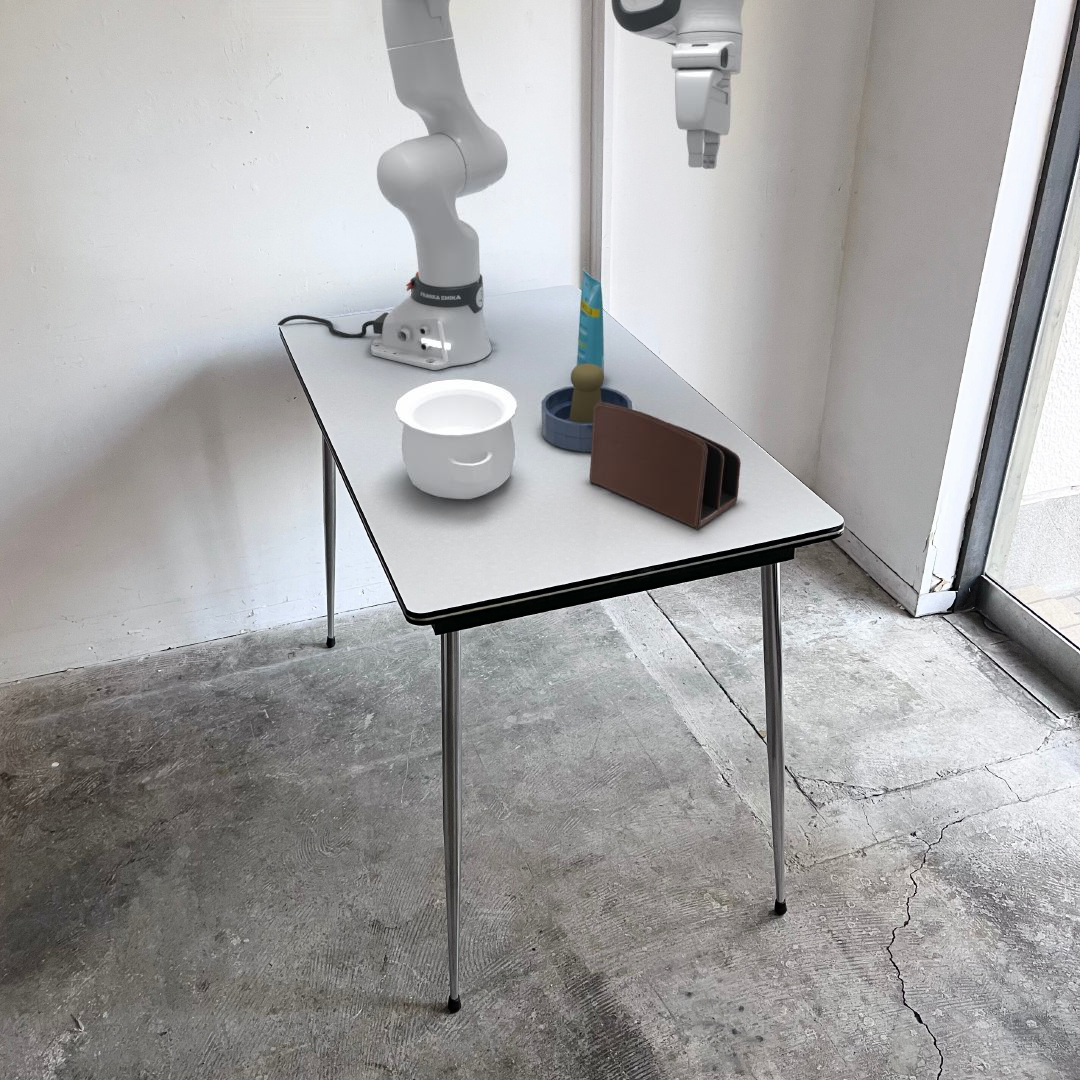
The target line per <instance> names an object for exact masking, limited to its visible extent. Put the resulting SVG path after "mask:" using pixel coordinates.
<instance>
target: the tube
mask: <svg viewBox="0 0 1080 1080" xmlns="http://www.w3.org/2000/svg"><path fill="white" fill-rule="evenodd" d="M582 271H583V274H582V284H581V293H580V305H579V320H578V321H579V323H578V336H577V337H578V338H577V355H576V356H577V357H576V359H577V360H576V366H578V365H580V364H594V365H597V366H599V367H600V368H601V369H602V371H603V373H604V374H605V348H604V346H605V345H604V343H605V341H604V340H605V339H604V304H603V303H604V302H603V290H602V282H601V281H600V280H598V279H597V278H596V277H595V278H594V277H593V276H592V275H590V274H589V273H588V272H587V271H586V270H585V269H584V268H582Z"/></svg>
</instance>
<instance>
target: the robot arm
mask: <svg viewBox="0 0 1080 1080" xmlns="http://www.w3.org/2000/svg"><path fill="white" fill-rule="evenodd" d="M450 2H451V0H381V14H382V15H381V16H382V25H383V34H384V41H385V45H386V49H387V50H386V51H387V55H388V60H389V66H390V70H391V75H392V81H393V87H394V89H395V95H396V98H397V99H398V101H399V102H400V103H401V104H402V105H403V106H404V107H405V108H407V109H408V110H411V111H414V112H416V114H417V115H418V116H419V117H420V118H421V120H422V122H423V124H424V125H425V127H426V130H427V133H428V135H424V136H420V137H416V138H411V139H407V140H404V141H402V142H400V143H398V144H396V145H394V146H392V147H391V148H389V149H387V150H385V151H384V152H383V153H382V154H381V155H380V157H379V159H378V162H377V165H376V181H377V185H378V188H379V190H380V193H381V194H382V196H383V197H384V199H385V200H386V201H387V203H389V204H390V205H391V206H393V207H394V208H396V209H397V210H398V211H400V212H401V213H402V214H403V216H404V217H405V219H406V220H407V222H408V224H409V226H410V228H411V231H412V234H413V237H414V243H415V249H416V250H415V251H416V260H417V270H418V271H416V273H415V275H414V276H413V277H412V278H410V280H409V282H408V283H407V284H406V285H405V286H406V291H407V292H409V291H410V295H409V296H408V297H407V298H405V299H404V300H402V301H401V302H400V303H399V304H397V305H395V307H394V308H393V309H392V310H391V311H389V312H383V313H382V314H381V315H379V316H378V317H377V318H375V319H373V320H368V321H366V322H364V323H363V324H362V325H361V332H359V333H347V332H343V331H340V330H337V329H336V328H335V327H334V324H333V323H332V321H331V320H329V319H325V318H320V317H317V316H313V315H305V314H294V315H288V316H287V317H284V318H283V319H281V320H279V322H278V323H277V326H283V325H285V324H286V323H288V322H290V321H293V320H295V321H296V320H305V321H307V320H308V321H311V322H312V321H314V322H317V323H321V324H325V325H327V326H328V330H329V331H330V332H331V334H333V335H336V336H339V337H343V338H347V339H360V338H362V337H365V336H366V334H367V327H369V326H372V329H373V330H372V331H373V334H377V337H376V338H375V339H374V340H373V341H372V343H371V345H370V354H371V356H374V357H377V358H382V359H386V360H391V361H395V362H398V363H403V364H408V365H411V366H415V367H419V368H423V369H428V370H432V371H439V370H443V369H446V368H449V367H454V366H462V365H468V364H472V363H475V362H478V361H481V360H483V359H485V358H487V357H488V356H489V355H490V354H491V352H492V345H491V342H490V340H489V336H488V331H487V328H486V323H485V322H486V321H485V316H484V309H483V308H484V301H485V290H484V280H483V275H482V274H481V265H480V263H481V262H480V260H481V259H480V237H479V235H478V233H477V231H476V230H475V228H474V227H473V226H471V224H469V223H467V222H466V221H464V220H462V219H460V218H459V216H458V212H457V207H456V200H457V199H459V198H463V197H466V196H471V195H473V194H477V193H481V192H483V191H486V189H488V188H490V187H491V186H493V185H494V184H496V183H497V182H500V180H501V179H502V178H503V177H504V176H505V174H506V171H507V168H508V161H509V160H508V151H507V147H506V144H505V143H504V140H503V138H502V137H501V136H500V134H499V133H498V132H497V131H496V130H494V129H493V128H491V127H490V126H489V125H487V124H486V123H485V122H484V121H483V120H482V119H481V118H480V116H479V115H478V113H477V111H476V110H475V108H474V106H473V104H472V103H471V100H470V99H469V96H468V94H467V92H466V89H465V86H464V82H463V78H462V74H461V68H460V64H459V59H458V54H457V48H456V44H455V38H454V32H453V28H452V23H451V17H450ZM744 3H745V0H611V10H612V14H613V16H614V19H615V20H616V23H618V25H619V26H620V27H621V28H622V29H624V30H625V31H628V32H630V33H631V34H634V35H636V36H638V37H639V36H640V37H644V38H647V39H652V40H655V41H660V42H664V43H666V44H667V45H668V44H669V45H671V46H673V47H675V48H674V49H673V50H672V52H671V63H670V64H671V65H670V66H671V68H672V70H674V73H675V74H674V100H675V101H674V104H675V120H676V125H677V128H678V130H683V131H686V146H687V153H688V161H687V163H688V167H690V168H703V169H706V170H714V169H716V167H717V159H718V155H719V150H720V146H721V136H728V135H729V132H730V127H731V109H732V108H731V103H732V101H731V100H732V99H731V98H732V89H731V88H732V87H731V80H732V79H731V78H732V77H731V76H735V75H738V74H741V71H742V70H741V69H742V68H741V67H742V52H743V51H742V50H743V35H744V33H743V27H742V20H741V19H742V18H741V16H742V10H743V6H744Z"/></svg>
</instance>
